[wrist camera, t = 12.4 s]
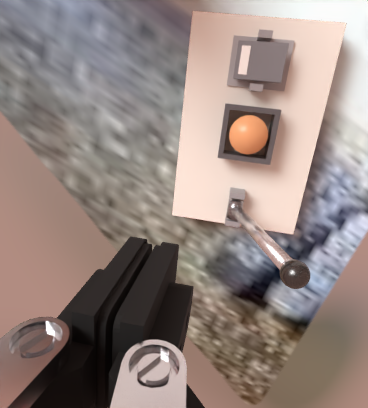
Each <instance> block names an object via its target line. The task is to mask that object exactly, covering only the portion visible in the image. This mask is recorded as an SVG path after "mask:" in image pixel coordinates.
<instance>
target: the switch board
mask: <svg viewBox="0 0 368 408" xmlns="http://www.w3.org/2000/svg"><path fill="white" fill-rule="evenodd" d="M346 24H347V23H342V22H329V21H316V20H303V19H291V18H278V17H265V16H252V15H240V14H227V13H214V12H201V11H193V13H192V23H191V33H190V43H189V53H188V63H187V73H186V83H185V93H184V103H183V113H182V123H181V133H180V143H179V153H178V163H177V173H176V183H175V193H174V203H173V213H172V215H175V216H181V217H188V218H194V219H200V220H206V221H212V222H219V223H225V225H226V226H232V227H238V228H239V227H240V226H242V225H241V224H240V223H239V222H238V221H237V220H231V219H228V218H227V217H226V213H227V207H228V201H229V198H234V199H241V200H243V201H244V203H243V208H242V209H243V210H244V211H245V212H246V213H247V214H248V215H249V216H250V217H251V218H252V219H253V220H254V221H255V222H256V223H257V224H258V225H259V226H260V227H261V228H262V229H263V230H268V231H274V232H281V233H287V234H294V230H295V226H296V222H297V218H298V214H299V210H300V206H301V202H302V198H303V194H304V190H305V186H306V182H307V178H308V174H309V170H310V166H311V162H312V158H313V154H314V151H315V147H316V143H317V139H318V135H319V131H320V127H321V123H322V119H323V115H324V111H325V107H326V103H327V99H328V95H329V91H330V87H331V83H332V79H333V75H334V71H335V67H336V64H337V60H338V56H339V52H340V48H341V44H342V40H343V36H344V32H345V28H346ZM239 40H242V41H261V42H279V43H289V48H288V53H287V58H286V63H285V68H284V73H283V78H282V83H271V82H260V81H249V80H238V79H234V78H233V75H234V69H235V62H236V55H237V49H238V42H239ZM243 115H254V116H256V117H258V118H260V119H261V120H262V121H263V122H264V123H265V125H266V127H267V130H268V138H267V142H266V144H265V145H264V147H263V148H262V149H261V150H259V151H258V152H256V153H253V154H242V153H240V152H238V151H236V150H235V149H234V148H233V147H232V145H231V143H230V139H229V133H230V128H231V126H232V124H233V122H234V121H235V120H236V119H238V118H239V117H241V116H243Z"/></svg>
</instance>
